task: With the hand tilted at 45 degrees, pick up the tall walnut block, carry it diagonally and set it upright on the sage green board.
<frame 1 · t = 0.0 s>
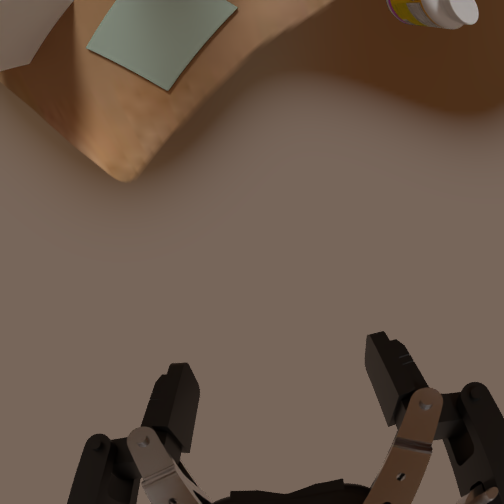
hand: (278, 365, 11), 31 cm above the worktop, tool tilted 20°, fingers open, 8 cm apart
supplement bottle: (403, 4, 20), on the worktop
sage board: (156, 23, 23), on the worktop
milk: (30, 17, 16), on the worktop
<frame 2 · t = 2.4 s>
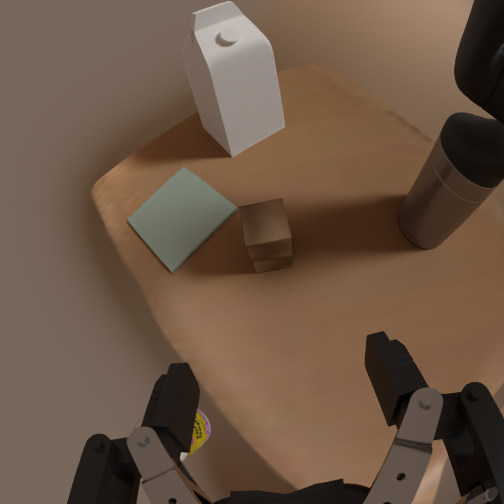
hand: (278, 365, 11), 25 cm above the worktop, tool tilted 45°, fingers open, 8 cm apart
supplement bottle: (189, 425, 32), on the worktop
sage board: (178, 215, 44), on the worktop
walnut block: (271, 253, 40), on the worktop
milk: (242, 126, 50), on the worktop
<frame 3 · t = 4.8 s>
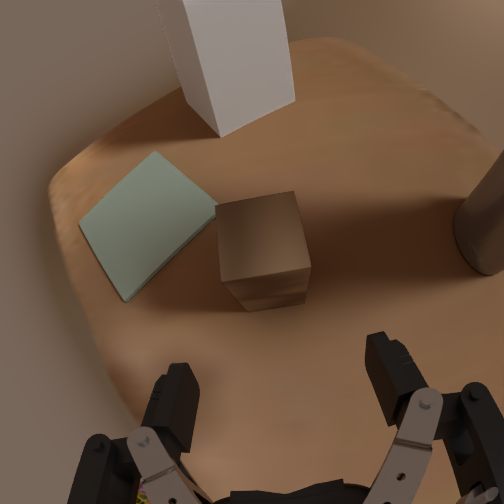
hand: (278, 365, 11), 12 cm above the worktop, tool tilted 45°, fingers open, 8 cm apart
supplement bottle: (152, 503, 18), on the worktop
sage board: (141, 217, 30), on the worktop
walnut block: (272, 281, 25), on the worktop
milk: (238, 100, 36), on the worktop
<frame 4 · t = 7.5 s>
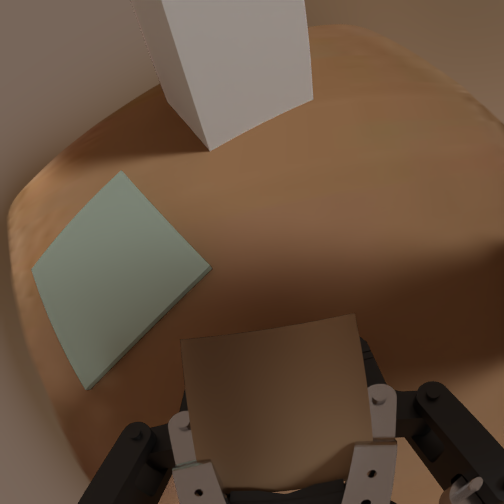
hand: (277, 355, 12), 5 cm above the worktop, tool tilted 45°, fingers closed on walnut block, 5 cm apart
sage board: (100, 270, 20), on the worktop
walnut block: (285, 384, 16), on the worktop, touching gripper
milk: (235, 98, 26), on the worktop
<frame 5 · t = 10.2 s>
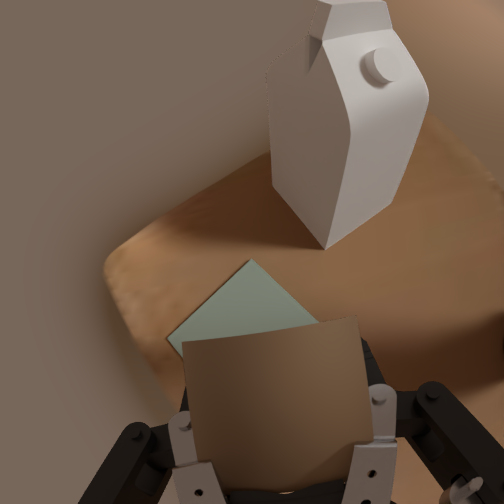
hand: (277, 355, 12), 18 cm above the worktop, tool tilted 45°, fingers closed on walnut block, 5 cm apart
sage board: (249, 343, 30), on the worktop
walnut block: (286, 385, 16), point 14 cm above the worktop, touching gripper
milk: (332, 194, 36), on the worktop
when the fingers open (7 cm above the worktop, at t = 13.2 s): walnut block drops 1 cm, resting on sage board.
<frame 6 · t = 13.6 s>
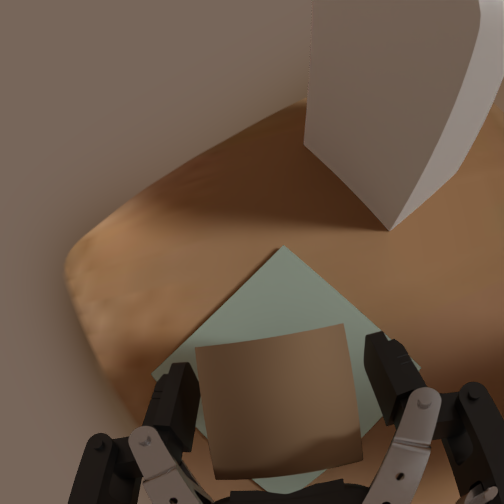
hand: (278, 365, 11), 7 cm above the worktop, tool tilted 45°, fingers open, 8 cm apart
sage board: (285, 381, 17), on the worktop
walnut block: (285, 383, 17), point 1 cm above the worktop, touching sage board
milk: (386, 157, 23), on the worktop
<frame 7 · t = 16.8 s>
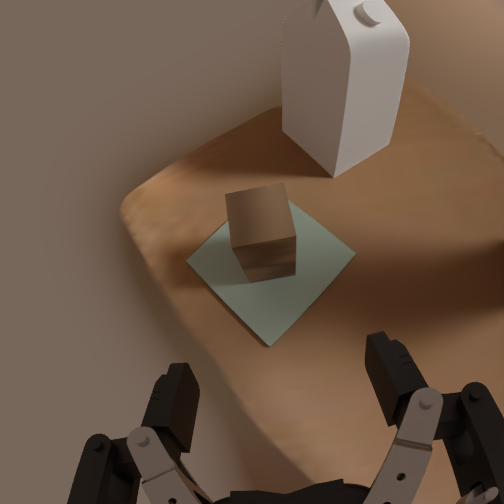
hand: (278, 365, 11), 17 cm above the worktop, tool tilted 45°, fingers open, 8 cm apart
sage board: (269, 259, 32), on the worktop
walnut block: (269, 258, 31), point 1 cm above the worktop, touching sage board
milk: (336, 136, 38), on the worktop
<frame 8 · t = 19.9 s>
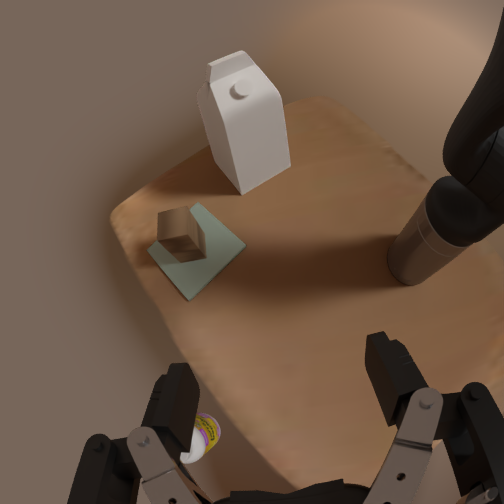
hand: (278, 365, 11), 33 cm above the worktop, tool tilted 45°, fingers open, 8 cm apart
supplement bottle: (202, 429, 39), on the worktop
sage board: (193, 248, 51), on the worktop
walnut block: (192, 248, 50), point 1 cm above the worktop, touching sage board
milk: (251, 164, 57), on the worktop
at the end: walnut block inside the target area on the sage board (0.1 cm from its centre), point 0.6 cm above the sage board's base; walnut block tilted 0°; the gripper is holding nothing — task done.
